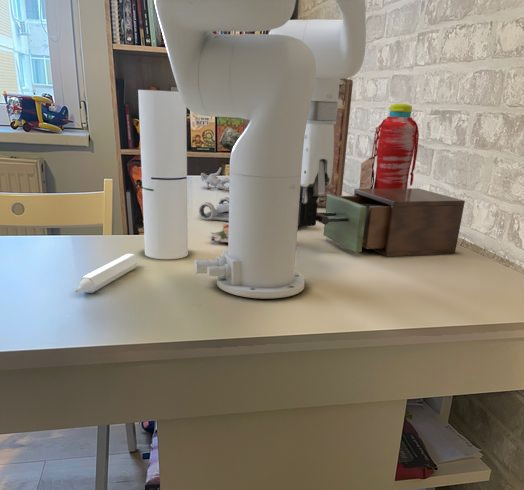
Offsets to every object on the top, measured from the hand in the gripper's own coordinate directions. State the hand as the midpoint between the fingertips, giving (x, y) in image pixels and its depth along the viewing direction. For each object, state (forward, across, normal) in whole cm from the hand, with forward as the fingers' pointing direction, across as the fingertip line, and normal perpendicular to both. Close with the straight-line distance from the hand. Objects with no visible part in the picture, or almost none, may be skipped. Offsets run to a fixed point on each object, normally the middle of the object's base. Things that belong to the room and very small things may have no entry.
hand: (305, 224), depth 100 cm
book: (+5, -49, +18) cm, 52 cm away
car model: (+5, -25, -1) cm, 25 cm away
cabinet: (+4, 0, +20) cm, 21 cm away
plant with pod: (+5, -8, -10) cm, 13 cm away
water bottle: (+5, -17, +25) cm, 31 cm away
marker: (+4, +13, -36) cm, 38 cm away
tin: (+3, 0, +13) cm, 13 cm away
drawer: (+4, 0, +11) cm, 12 cm away
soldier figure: (+5, -73, +4) cm, 73 cm away
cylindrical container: (+4, -1, -25) cm, 25 cm away
